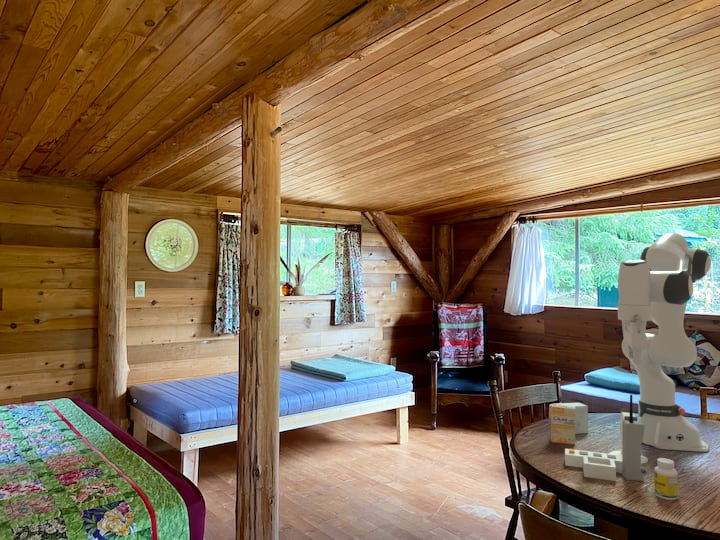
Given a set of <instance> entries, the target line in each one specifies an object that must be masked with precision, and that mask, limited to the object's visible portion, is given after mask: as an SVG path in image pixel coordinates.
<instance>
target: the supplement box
mask: <svg viewBox="0 0 720 540" xmlns="http://www.w3.org/2000/svg"><path fill="white" fill-rule="evenodd" d="M550 406H551V413H550V414H551V416H550V417H551V419H550V420H551V421H550V422H551V423H550V425H551V426H550V427H551V428H550V442H551V443H557V444H562V445H563V444H565V445H573V446H575V445H576V434H575V420H576V409H575V406H567V405H557V404H555V403H551V405H550Z"/></svg>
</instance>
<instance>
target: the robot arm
mask: <svg viewBox="0 0 720 540" xmlns="http://www.w3.org/2000/svg"><path fill="white" fill-rule="evenodd" d="M688 246H689V243H688V241H687V239H686V237H684V236H683V235H681V234H679V233H675V232H670V233H669V232H668V233H665V234H663V235H661V236H660V237H658V238H657V239H655V240H654V241H653V243H652V244H650V245H648V246H646V247H645V248H644V249H643V250H642V252H641V254H640V257H639V259H629V260H624V261H623V262H621V263H620V265H619V269H618V274H617V275H618V277H617V291H618V300H617V320H619V321H621V328H622V336H623V340H622V341H621V349H622V353H623V355H624V356H625V357H626V358H627V359H628V360H629V362H631V364H632V365H633V366H634V369H635V371H636V374H637V376H638V380H639V381H638V382H639V397H640V399H639V401H638V405H637V406H638V409H637V410H638V412H637V413H638V415H639V417H638V421H641V422H642V423H643V424H644V435H643V442H642V443H641V444H645V445H648V446H652V447H654V448H656V449H659V450H672V451H686V452H688V451H689V452H702V453H703V452H705V453H706V452H708V451H709V449H710V448H709V445H708V444H707V442H705V441H704V440H702V438H701V433H700V431H699V429H698V427H696V426H695V425H694V424H693V423H692V422H691V421H689V420H688V418H686V417H684V416H683V415H685V414H686V409H685V408H683V407H682V406H680V405H678V404H676V383H675V382H674V380H673V379H672V378H671V377H669V376H668V375H667V374H666V373H665V372H664V370H663V368H662V366H665V367H671V368H688V367H691V366H692V365H693V364H694V363H695V361H696V359H697V356H698V350H697V347H696V345H695V344H694V343H693V341H692V340H691V339H690V338H689V337H688V335H687V334H686V332H685V327H684V320H685V314H686V308H687V304H688V301H690V300H691V299H692V297H693V293H694V283H696V281H698V280H702V279H703V278H705V276H706V275H707V273H709V271H710V269H711V265H712V261H711V257H710V254H709V252H708V251H706V250H703V249H700V248H692V247H691V248H690V247H688ZM647 322H652V323H654V324H655V325H657V326H658V333H657V334H656V333H648V332H647V329H646V327H647Z"/></svg>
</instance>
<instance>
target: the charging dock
mask: <svg viewBox="0 0 720 540" xmlns="http://www.w3.org/2000/svg"><path fill="white" fill-rule="evenodd" d="M564 465H565V466H567V467H573V468H582V470H583V476H584V478H589V479H590V478H591V479H596V480H597V479H598V480H605V481H611V482H617V473H620V474H622V455H615V454H609V453H606V452H597V451H591V450H589V451H588V450H581V449H574V448H565V449H564ZM641 472H642V474H643V473H644V474H646V473H647V469H645V468H641Z"/></svg>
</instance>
